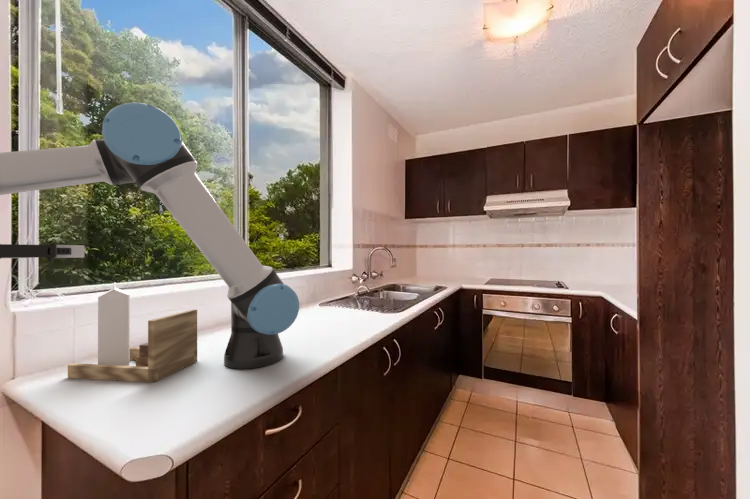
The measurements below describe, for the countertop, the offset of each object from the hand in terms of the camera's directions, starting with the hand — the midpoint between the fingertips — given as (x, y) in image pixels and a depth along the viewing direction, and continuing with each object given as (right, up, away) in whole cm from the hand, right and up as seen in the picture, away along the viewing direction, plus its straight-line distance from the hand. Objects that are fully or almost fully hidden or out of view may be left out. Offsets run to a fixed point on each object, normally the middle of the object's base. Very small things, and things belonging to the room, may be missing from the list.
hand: (57, 251), depth 70 cm
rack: (+11, -30, +9) cm, 33 cm away
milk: (+5, -30, +10) cm, 32 cm away
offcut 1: (+17, -25, +8) cm, 32 cm away
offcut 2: (+17, -28, +8) cm, 34 cm away
